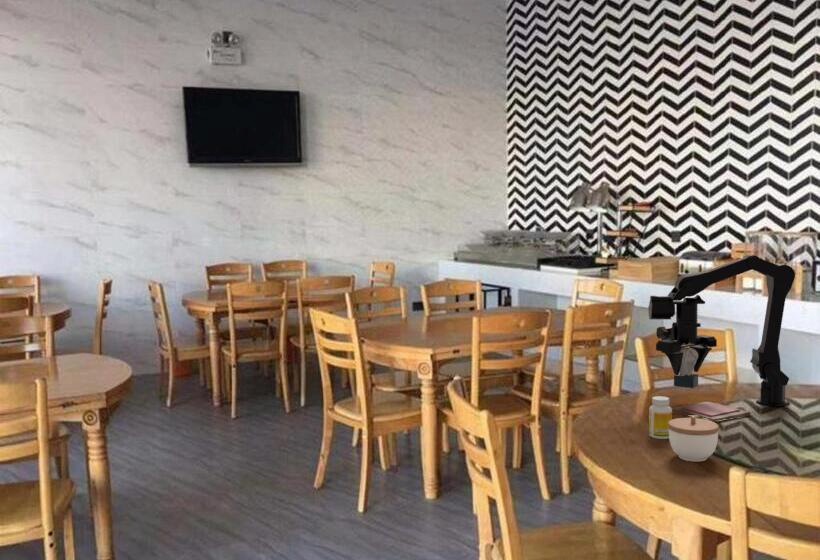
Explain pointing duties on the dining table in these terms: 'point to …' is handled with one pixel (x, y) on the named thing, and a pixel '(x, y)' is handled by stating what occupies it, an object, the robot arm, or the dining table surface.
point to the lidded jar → (693, 438)
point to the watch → (687, 369)
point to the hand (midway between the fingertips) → (686, 373)
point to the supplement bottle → (659, 417)
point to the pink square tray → (711, 411)
